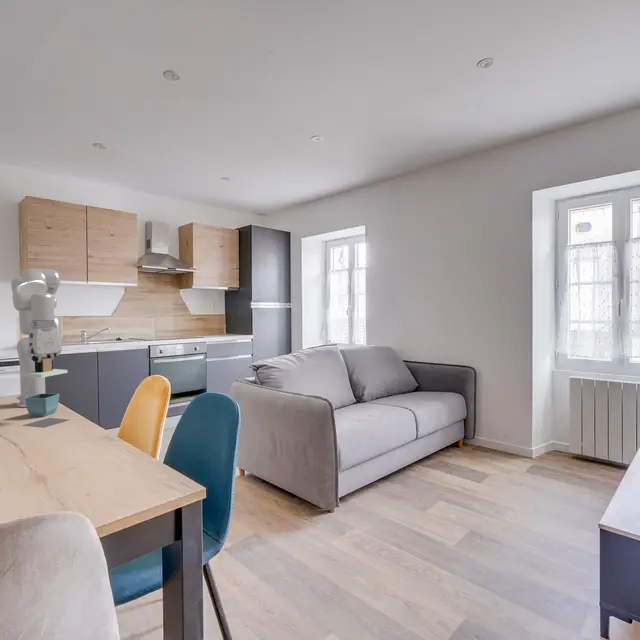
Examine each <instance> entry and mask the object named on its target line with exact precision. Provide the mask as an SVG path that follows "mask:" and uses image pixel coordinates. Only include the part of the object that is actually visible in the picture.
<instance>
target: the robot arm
mask: <svg viewBox="0 0 640 640" xmlns="http://www.w3.org/2000/svg"><path fill="white" fill-rule="evenodd" d="M10 284H11V292H12V295H11V296H12V297H11V298H12V304H13V307H14V309H15V310H16V311H18V317H19V330H20V332H21V334H23V335H26V336H27V335H28V337H24V338H22V339H19V340H18V342H17V344H16V351H17V355H18V356H17V357H18V361H19V374H20V373H22V372H28V371H34V370H35V372H43V369H42V362H41V358H52V370H53V369H54V360H55V358H56V357H57V356H59V355H61V353H62V350H63V343H62V328H61V322H60V318H59V316H57V315H55V309H56V308H57V305H58V304H57V303H58V301H57V298H56V297H55V294H56V293H57V291H58V289H59V287H60V285H61V276H60V274H59V272H58V271H57V270H55V269H53V268H38V267H31V268H26V269H24V270H23V271H22V272H21V274H20V276H19V277H15V278H13V279H12V280H11V283H10ZM19 379H20V380H19V381H20V384H19V385H20V387H19V388H20V394H19V396H17V397H16V400H18V401H19V402H17V403H16V407H18V408H27V406H26V401H25V398H27V397H31V396H34V395H37V394H46V377H42V378H40V377H27V376H20V375H19Z"/></svg>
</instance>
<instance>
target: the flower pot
mask: <svg viewBox="0 0 640 640" xmlns="http://www.w3.org/2000/svg"><path fill="white" fill-rule="evenodd" d="M25 401H26V406H27V407H26V410H27V412H28V414H29V416H31V418H32V417H33V418H34V417H39V418H42V417H44V418H45V417H48V416H50V415H53V414H55V413H56V411H57V409H58V407H59V403H60V402H59V401H60V393H45V394H37V395H34V396H31V397H27V398H25Z"/></svg>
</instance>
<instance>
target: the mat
mask: <svg viewBox="0 0 640 640" xmlns="http://www.w3.org/2000/svg"><path fill="white" fill-rule="evenodd" d="M67 421H69V419H68V418H67V419H65V418H54V417H48V418H44V419H41V420H36V421H33V422H32V421H31V422H29V423H26V424H22V427H23V426H24V427H31V428H42V429H43V428H44V429H45V428H48V427H51V426H55V425H58V424H62V423H65V422H67Z"/></svg>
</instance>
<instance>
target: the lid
mask: <svg viewBox="0 0 640 640" xmlns="http://www.w3.org/2000/svg"><path fill="white" fill-rule="evenodd" d="M41 362H42V369H43V372H35V370H34V371H28V372H22V373H20V372H19V377H20V376H27V377H40V378H42V377H45V378H48V377H51V376H53V377H54V376H57V375H62V374H68V369H59V368H53V370H52V358H46V357H41Z"/></svg>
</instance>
